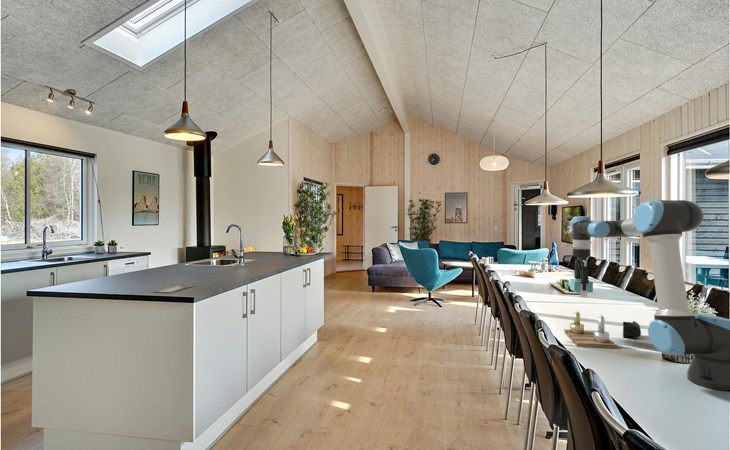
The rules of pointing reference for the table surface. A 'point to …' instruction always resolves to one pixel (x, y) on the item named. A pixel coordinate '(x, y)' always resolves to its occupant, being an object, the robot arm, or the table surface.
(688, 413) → the table surface
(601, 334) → the stand rod
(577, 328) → the hub
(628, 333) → the end cap
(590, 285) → the collar
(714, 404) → the table surface
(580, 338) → the board
